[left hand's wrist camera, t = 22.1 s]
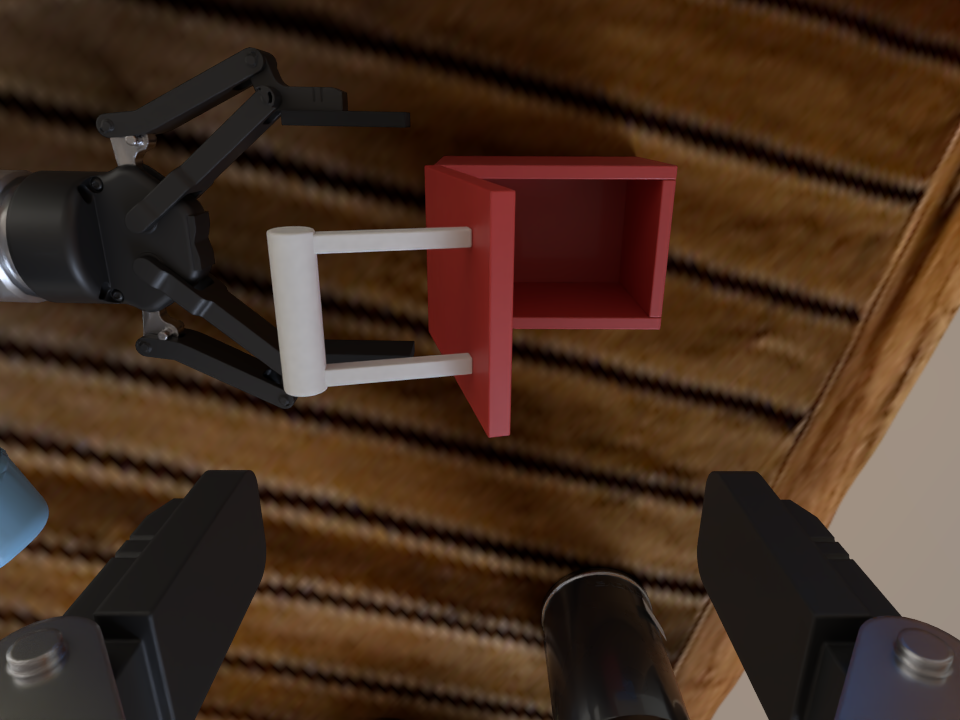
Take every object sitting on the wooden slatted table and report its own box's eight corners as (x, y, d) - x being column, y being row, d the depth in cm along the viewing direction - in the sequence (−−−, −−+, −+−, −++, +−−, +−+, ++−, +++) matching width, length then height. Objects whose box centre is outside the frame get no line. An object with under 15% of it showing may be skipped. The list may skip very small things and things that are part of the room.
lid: (516, 189, 21) (254, 195, 19) (510, 436, 24) (285, 460, 22) (441, 164, 33) (276, 167, 31) (443, 330, 36) (294, 341, 34)
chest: (637, 156, 42) (677, 165, 34) (625, 289, 45) (660, 329, 37) (443, 155, 42) (433, 164, 34) (445, 289, 45) (436, 328, 37)
